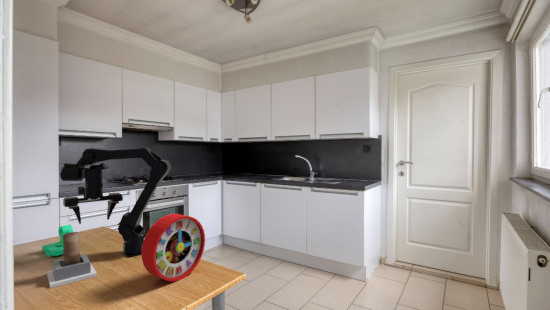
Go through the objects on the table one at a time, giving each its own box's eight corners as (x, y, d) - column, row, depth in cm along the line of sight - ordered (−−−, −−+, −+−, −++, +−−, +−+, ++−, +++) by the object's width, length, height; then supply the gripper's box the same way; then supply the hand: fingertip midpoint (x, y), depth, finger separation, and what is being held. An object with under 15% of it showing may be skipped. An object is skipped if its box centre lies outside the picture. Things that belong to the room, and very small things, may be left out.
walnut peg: (82, 268, 96) (82, 231, 95) (75, 274, 91) (75, 235, 91) (68, 269, 95) (67, 232, 95) (60, 275, 91) (59, 236, 90)
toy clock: (153, 292, 83) (153, 223, 82) (141, 286, 86) (141, 220, 85) (205, 267, 100) (205, 210, 99) (193, 264, 103) (193, 208, 102)
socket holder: (90, 264, 102) (89, 251, 101) (97, 276, 93) (96, 262, 93) (46, 274, 94) (46, 260, 93) (49, 288, 85) (49, 273, 84)
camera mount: (41, 252, 113) (40, 226, 113) (63, 246, 119) (63, 222, 119) (54, 259, 107) (54, 231, 106) (77, 252, 113) (77, 227, 113)
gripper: (115, 177, 122) (116, 214, 122) (61, 180, 109) (61, 221, 110) (123, 180, 113) (123, 219, 114) (64, 183, 101) (65, 227, 101)
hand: (94, 221), depth 110 cm, fingers open, 9 cm apart
